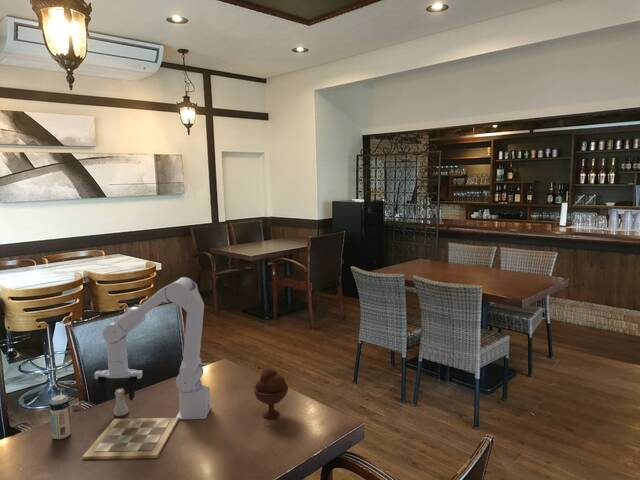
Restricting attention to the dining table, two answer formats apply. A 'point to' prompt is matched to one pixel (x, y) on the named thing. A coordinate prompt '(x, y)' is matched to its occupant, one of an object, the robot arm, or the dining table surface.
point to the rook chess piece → (120, 403)
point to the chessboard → (132, 438)
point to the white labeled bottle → (60, 416)
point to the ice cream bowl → (270, 391)
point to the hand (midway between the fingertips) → (120, 399)
